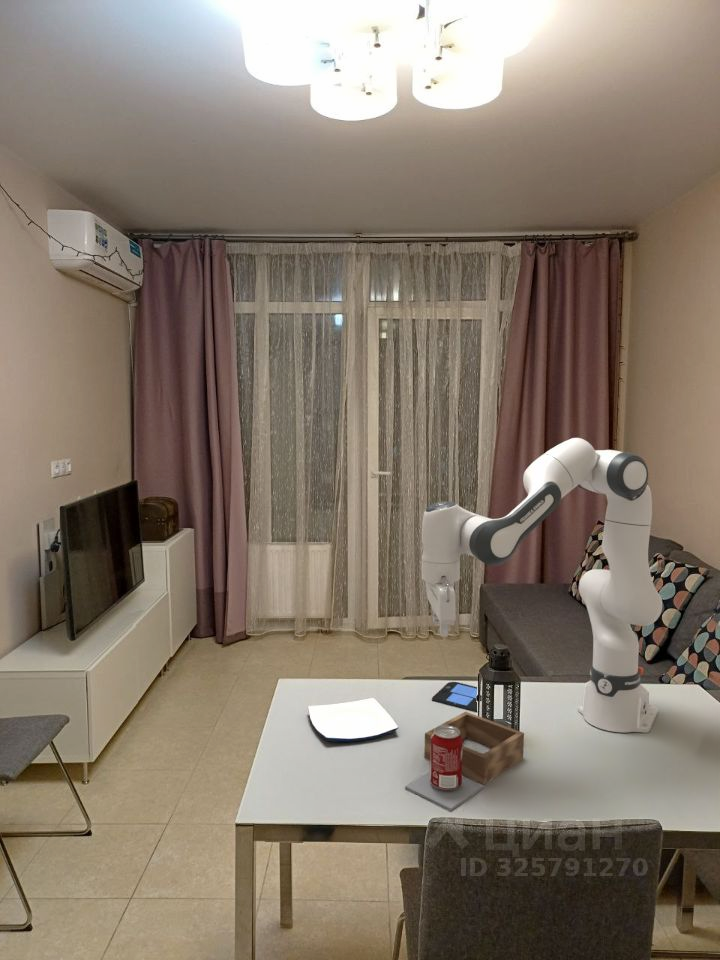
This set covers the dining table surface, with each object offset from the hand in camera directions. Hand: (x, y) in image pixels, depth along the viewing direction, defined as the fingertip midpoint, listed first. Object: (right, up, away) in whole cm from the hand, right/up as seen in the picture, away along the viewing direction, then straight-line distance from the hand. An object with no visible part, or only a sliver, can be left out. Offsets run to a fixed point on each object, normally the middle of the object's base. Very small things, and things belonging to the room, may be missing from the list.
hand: (440, 629), depth 161 cm
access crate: (+8, -30, -1) cm, 31 cm away
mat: (-1, -31, -14) cm, 34 cm away
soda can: (-1, -31, -14) cm, 34 cm away
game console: (+10, -27, +32) cm, 44 cm away
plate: (-21, -29, +15) cm, 39 cm away
